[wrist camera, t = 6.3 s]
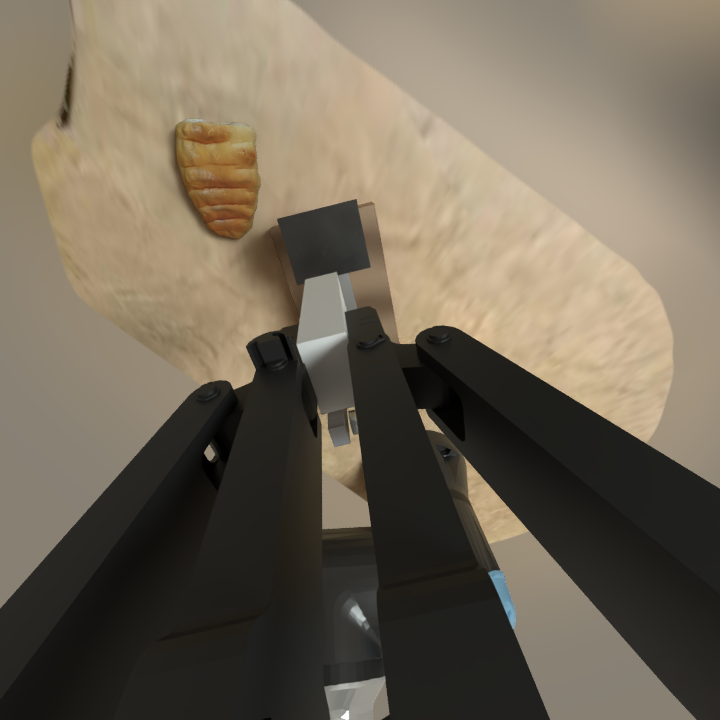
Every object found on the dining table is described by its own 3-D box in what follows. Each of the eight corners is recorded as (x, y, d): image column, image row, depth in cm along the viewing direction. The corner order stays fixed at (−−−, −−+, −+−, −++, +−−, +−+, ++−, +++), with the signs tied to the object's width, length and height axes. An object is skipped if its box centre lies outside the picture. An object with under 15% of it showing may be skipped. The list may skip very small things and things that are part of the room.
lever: (400, 415, 35) (405, 429, 33) (344, 428, 36) (345, 444, 33) (354, 201, 27) (356, 199, 25) (282, 219, 28) (277, 219, 25)
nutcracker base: (402, 370, 43) (426, 431, 33) (326, 388, 44) (327, 454, 34) (371, 202, 33) (393, 219, 23) (272, 227, 33) (252, 255, 23)
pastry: (269, 235, 34) (263, 243, 31) (199, 235, 33) (185, 244, 30) (256, 120, 29) (247, 116, 26) (174, 118, 29) (155, 113, 25)
